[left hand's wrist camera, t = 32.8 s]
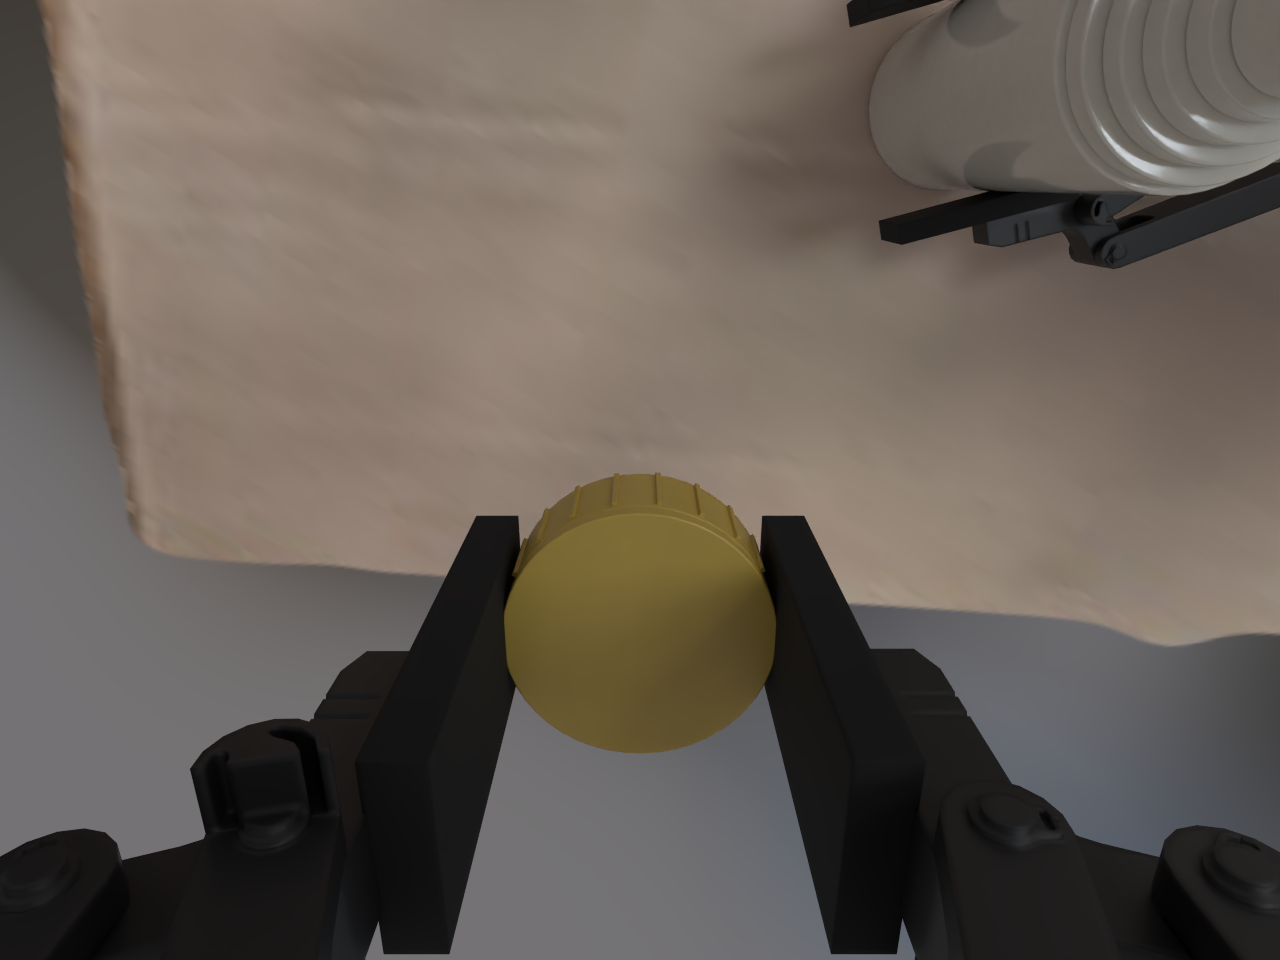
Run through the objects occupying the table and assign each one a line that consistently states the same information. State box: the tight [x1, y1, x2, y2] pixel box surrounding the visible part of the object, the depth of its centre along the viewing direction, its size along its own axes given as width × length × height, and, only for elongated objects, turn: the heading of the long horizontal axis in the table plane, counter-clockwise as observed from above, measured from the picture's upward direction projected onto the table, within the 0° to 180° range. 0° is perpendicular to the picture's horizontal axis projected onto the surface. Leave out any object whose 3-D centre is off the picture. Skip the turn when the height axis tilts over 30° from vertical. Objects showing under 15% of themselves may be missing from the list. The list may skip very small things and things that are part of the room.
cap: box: [504, 473, 776, 753], centre depth 14 cm, size 5×5×2 cm
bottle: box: [869, 0, 1280, 196], centre depth 24 cm, size 7×7×23 cm
